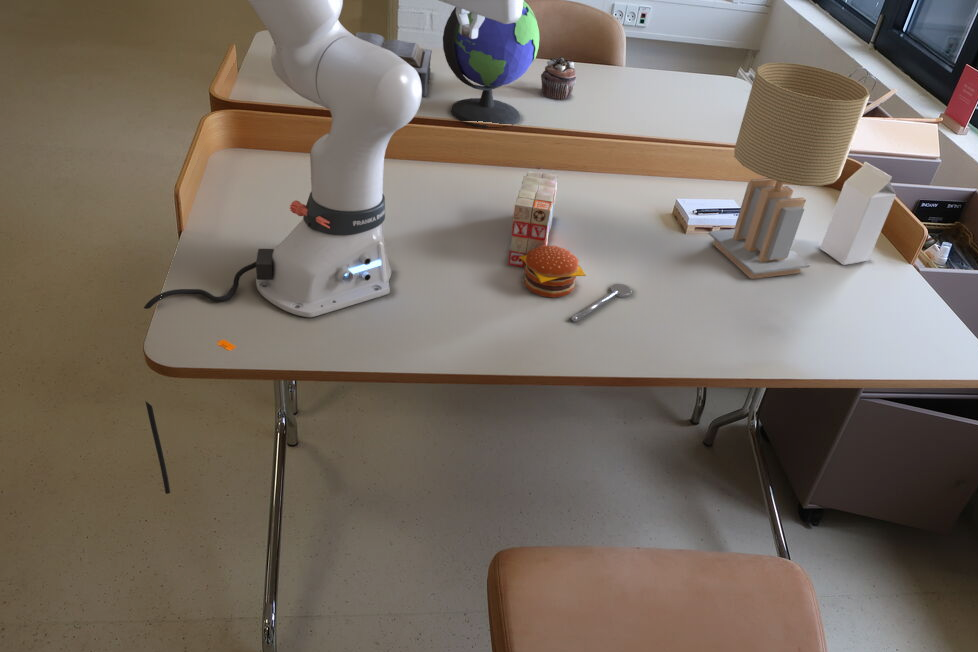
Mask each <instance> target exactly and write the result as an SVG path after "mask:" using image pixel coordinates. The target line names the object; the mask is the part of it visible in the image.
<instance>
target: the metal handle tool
mask: <svg viewBox="0 0 978 652" xmlns="http://www.w3.org/2000/svg"><path fill="white" fill-rule="evenodd" d="M631 294H632V288H631V287H630V286H628V285H626V284H623V283H615V284H613V285H611V287H610V293H608V294H606V295H605V296H603V297H601V298H600V299H598V300H597V301H595V302H593V303H592V304H590V305H589V306H587V307H586V308H584V309H582V310H580V311H578V313H576V314H574V315H573V316H572V317H571V321H572V322H573V323H576V322H578V321H579V320H581V319H582V318H584V317H586V316H587V315H589V314H590V313H592V312H593V311H595V310H597V309H598V308H600V307H601V306H603V305H604V304H606V303H607V302H609V301H611V300H612V299H614V298H615V297H619V298H628V297H630V296H631Z"/></svg>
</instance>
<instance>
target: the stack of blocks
mask: <svg viewBox="0 0 978 652" xmlns="http://www.w3.org/2000/svg"><path fill="white" fill-rule="evenodd" d="M558 178H559V176H558V175H555V174H549V173H541V172H536V171H531V170H530V171H529V170H528V171H527V172H526V174H525V175H523V178H522V181H521V187H520V190H519V191H518V196H517V198H516V201H515V204H514V210H513V219H512V227H511V238H510V245H509V251H508V259H507V265H508V266H512V267H520V268H525V267H526V263H525V262H524V261H523V260H522V259H520V258H519V257H520V256H524V255H527V254H528V252H529V251H530V250H532V249H535V248H537V247H539V246H542V245H548V241H549V234H550V232H551V230H552V229H551V228H552V224H553V218H554V211H555V210H554V209H555V204H556V198H557V187H558Z"/></svg>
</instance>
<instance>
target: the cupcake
mask: <svg viewBox="0 0 978 652" xmlns="http://www.w3.org/2000/svg"><path fill="white" fill-rule="evenodd" d="M546 64H547V65H546V66H545V67H544V71H542V73H541V74H540V80H541V94H542V96H543V97H546V98H548V99H551V100H555V101H556V100H557V101H566V100H569V99H570V98H571V97H572V93H573V90H574V87H575V84H576V82H577V75H576V70H575V62H574V61H572V60H568V59H565V57H563V56H560V57H558V58H556V57H552V58H551V57H550V59H549V60H547V62H546Z"/></svg>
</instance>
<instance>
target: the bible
mask: <svg viewBox="0 0 978 652" xmlns="http://www.w3.org/2000/svg"><path fill="white" fill-rule="evenodd" d="M353 35H354V36H355V37H358V38H359V39H362V40H364V41H367V42H369V43H372V44H374V45H377V46H379V47H382V48H385V49H387V50H390V51H391V52H393V53H394V54H396V55H397V56H399V57H400V58H401V59H403V60H404V61H405V62H407V63H408V64H409V65H411V66H412V67H413V68H414V69H415V70H416V71H417V73H418V75H419V77H420V80H421V85H422V97H421V98H426V96H427V92H428V88H429V84H430V80H431V60H432V53H433V51H432V49H427V48H422V47H421V46H420V45H419V44H418V42H413V41H405V40H400V39H389V40H386V39H385V37H384V36H382V35H380V34H378V33H374V32H360V31H357V32H356V33H355V34H353Z"/></svg>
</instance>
